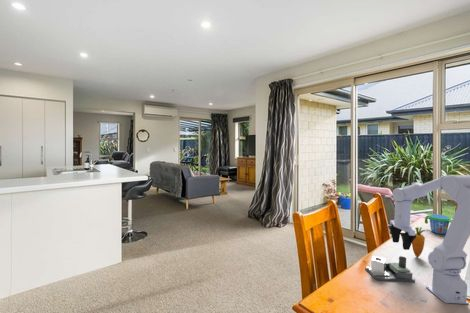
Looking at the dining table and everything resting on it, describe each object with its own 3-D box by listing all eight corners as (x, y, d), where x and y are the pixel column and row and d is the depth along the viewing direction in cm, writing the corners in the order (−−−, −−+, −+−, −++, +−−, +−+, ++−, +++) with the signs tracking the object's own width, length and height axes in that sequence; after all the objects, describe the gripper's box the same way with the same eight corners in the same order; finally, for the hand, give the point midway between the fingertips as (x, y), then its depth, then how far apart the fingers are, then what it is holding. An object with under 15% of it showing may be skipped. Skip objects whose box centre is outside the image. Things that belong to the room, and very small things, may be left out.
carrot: (418, 255, 122) (419, 225, 121) (426, 259, 117) (428, 228, 116) (408, 255, 122) (409, 225, 121) (415, 259, 117) (417, 228, 116)
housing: (383, 275, 100) (384, 262, 99) (370, 271, 102) (371, 259, 102) (385, 270, 103) (385, 258, 103) (372, 267, 106) (373, 255, 106)
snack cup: (419, 228, 161) (420, 213, 160) (432, 227, 163) (433, 212, 162) (444, 237, 145) (446, 220, 145) (458, 236, 148) (460, 219, 147)
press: (415, 282, 98) (415, 273, 97) (375, 280, 98) (376, 272, 98) (400, 270, 107) (401, 262, 107) (365, 268, 108) (365, 261, 107)
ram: (410, 275, 99) (410, 261, 99) (397, 274, 99) (398, 260, 99) (400, 267, 105) (401, 254, 105) (389, 267, 105) (390, 254, 105)
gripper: (423, 220, 101) (421, 253, 102) (401, 211, 116) (400, 239, 117) (405, 220, 102) (403, 252, 103) (386, 210, 116) (384, 239, 117)
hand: (400, 245), depth 110 cm, fingers open, 7 cm apart
